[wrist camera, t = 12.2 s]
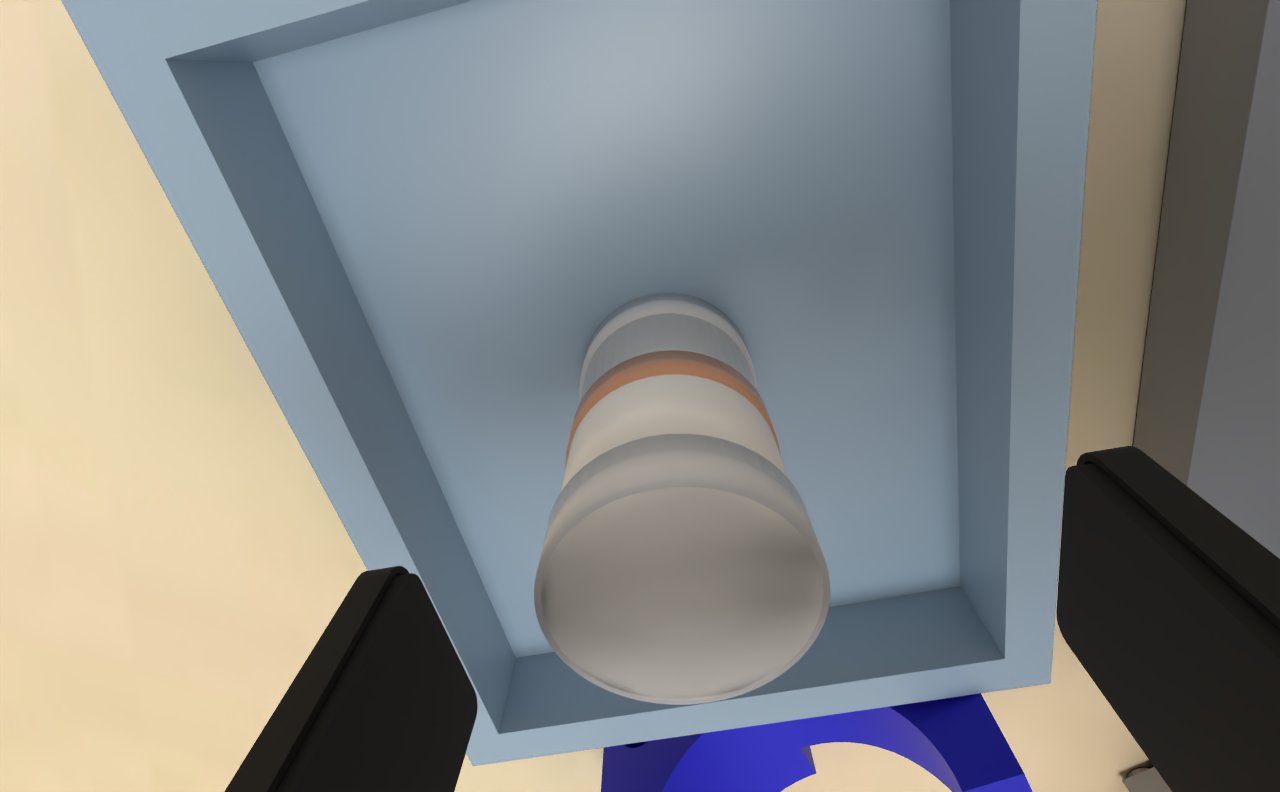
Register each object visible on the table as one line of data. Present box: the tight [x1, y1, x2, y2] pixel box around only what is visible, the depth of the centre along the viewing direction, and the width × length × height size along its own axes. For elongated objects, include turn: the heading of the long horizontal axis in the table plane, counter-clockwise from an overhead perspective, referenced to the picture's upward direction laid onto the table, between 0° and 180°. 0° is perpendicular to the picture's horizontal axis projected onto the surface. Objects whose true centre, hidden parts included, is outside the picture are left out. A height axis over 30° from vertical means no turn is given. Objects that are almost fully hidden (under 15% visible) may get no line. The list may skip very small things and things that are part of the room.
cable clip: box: [601, 693, 1032, 792], centre depth 20 cm, size 12×4×6 cm, turn 119°
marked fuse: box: [534, 293, 831, 705], centre depth 13 cm, size 4×4×8 cm
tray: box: [61, 0, 1097, 766], centre depth 15 cm, size 16×20×4 cm
